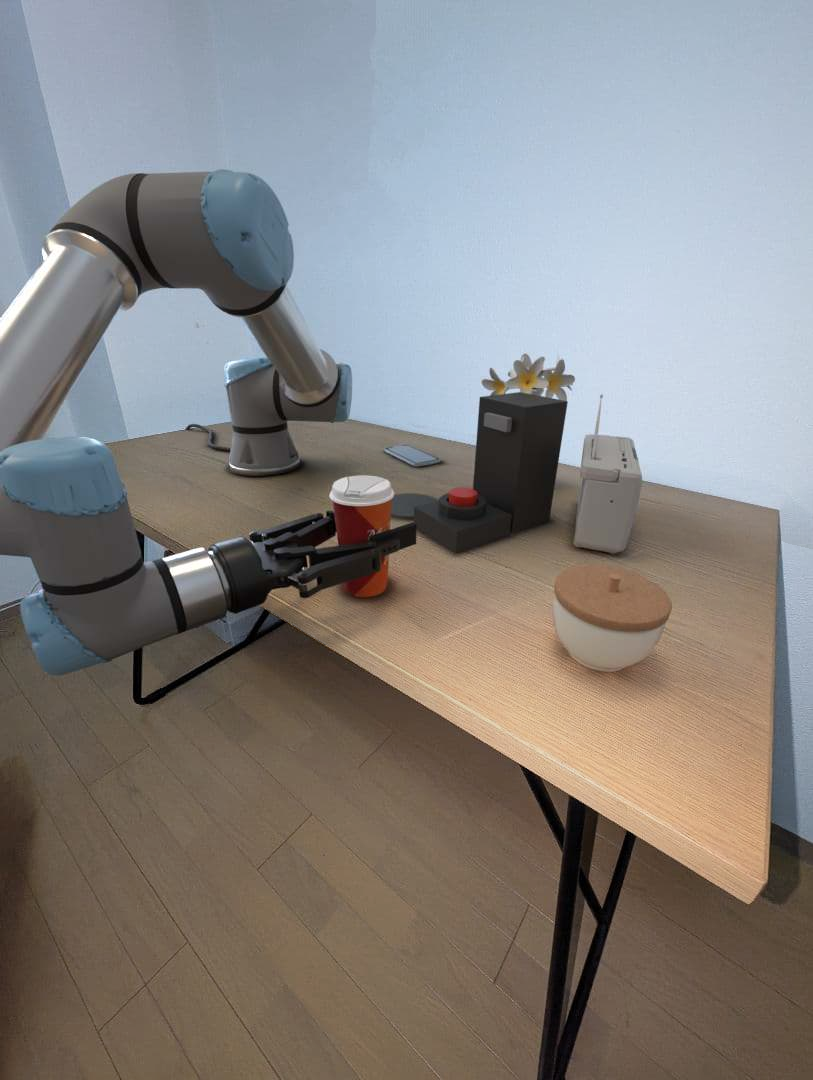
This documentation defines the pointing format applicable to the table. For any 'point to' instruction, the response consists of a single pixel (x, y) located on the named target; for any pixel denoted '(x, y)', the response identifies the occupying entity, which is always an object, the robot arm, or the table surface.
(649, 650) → the trinket box
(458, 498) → the coffee button
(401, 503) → the coaster
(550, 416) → the tank
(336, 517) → the paper cup
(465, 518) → the base
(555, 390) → the flower vase
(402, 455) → the smartphone
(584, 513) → the radio
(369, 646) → the table surface
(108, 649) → the robot arm
